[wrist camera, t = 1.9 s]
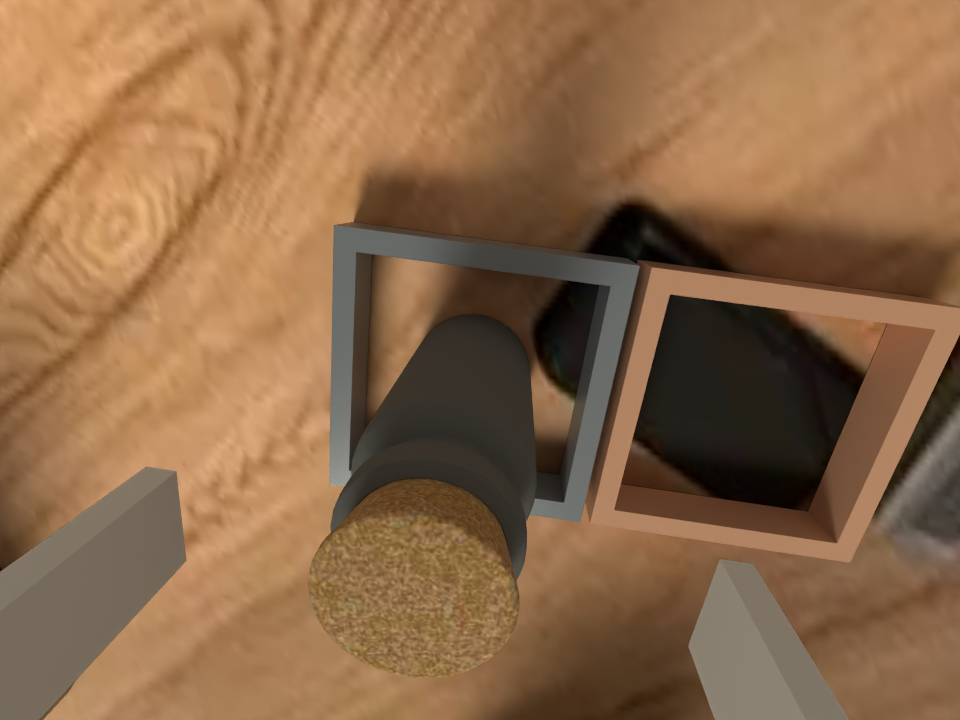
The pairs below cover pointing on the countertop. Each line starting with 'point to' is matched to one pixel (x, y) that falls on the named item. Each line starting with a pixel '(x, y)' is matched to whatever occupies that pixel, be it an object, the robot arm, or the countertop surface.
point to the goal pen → (861, 446)
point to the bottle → (435, 510)
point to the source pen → (610, 273)
